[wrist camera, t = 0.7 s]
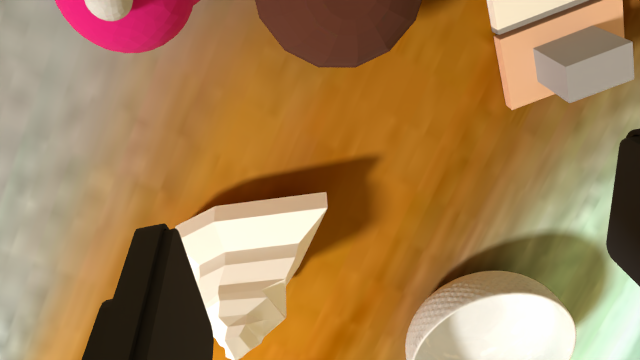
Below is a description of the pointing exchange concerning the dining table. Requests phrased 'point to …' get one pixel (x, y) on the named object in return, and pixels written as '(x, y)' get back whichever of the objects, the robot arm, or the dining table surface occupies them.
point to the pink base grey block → (566, 54)
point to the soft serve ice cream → (249, 263)
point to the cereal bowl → (491, 321)
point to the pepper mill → (127, 21)
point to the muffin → (337, 28)
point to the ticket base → (523, 12)
